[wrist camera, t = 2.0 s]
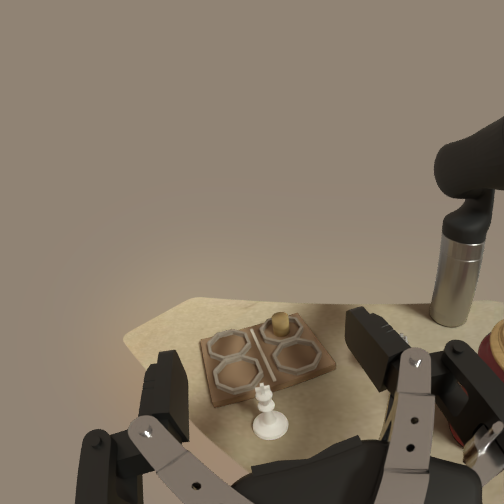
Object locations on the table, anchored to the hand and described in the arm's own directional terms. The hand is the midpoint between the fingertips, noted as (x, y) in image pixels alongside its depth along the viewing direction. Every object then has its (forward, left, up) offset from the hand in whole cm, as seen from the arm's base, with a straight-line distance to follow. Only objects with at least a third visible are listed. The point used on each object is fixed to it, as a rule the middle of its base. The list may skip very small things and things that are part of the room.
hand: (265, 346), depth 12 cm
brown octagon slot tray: (-4, -25, -26) cm, 36 cm away
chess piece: (-1, -11, -26) cm, 28 cm away
